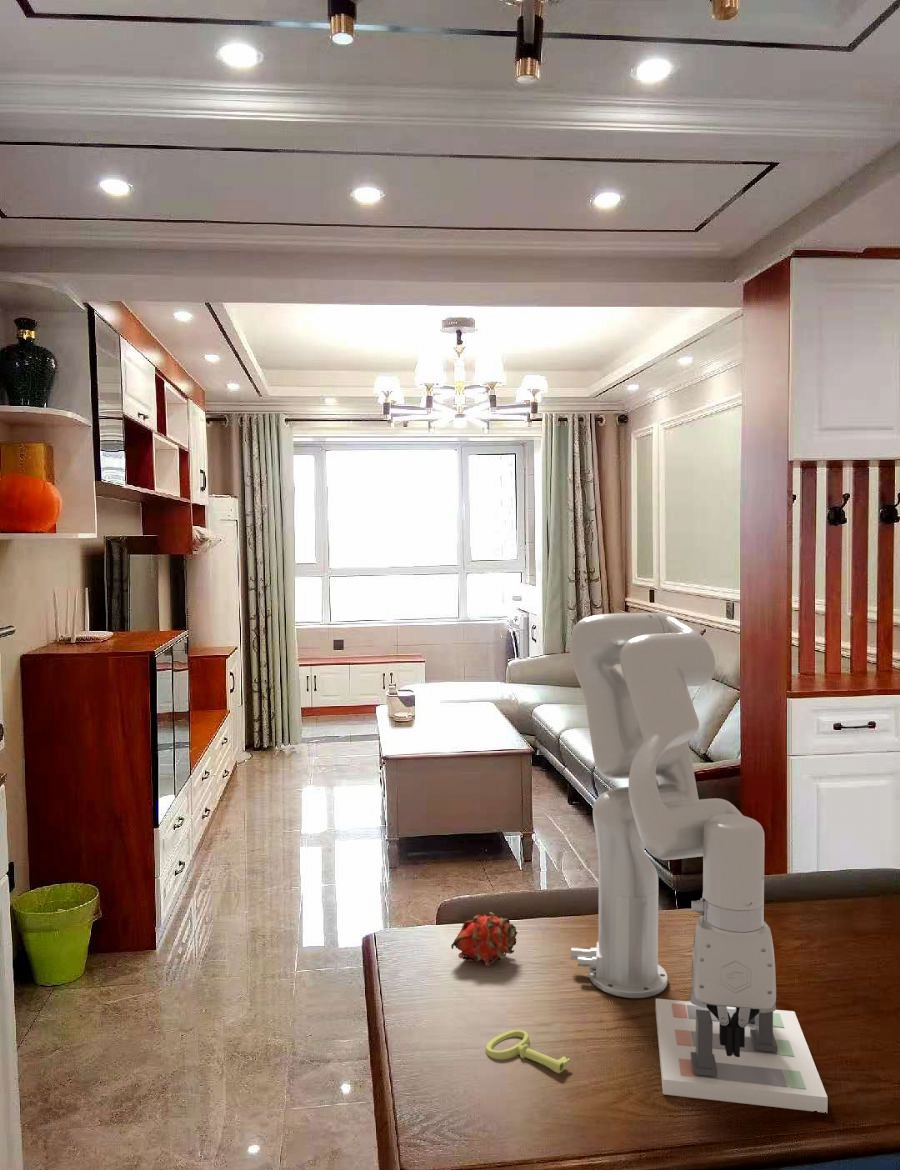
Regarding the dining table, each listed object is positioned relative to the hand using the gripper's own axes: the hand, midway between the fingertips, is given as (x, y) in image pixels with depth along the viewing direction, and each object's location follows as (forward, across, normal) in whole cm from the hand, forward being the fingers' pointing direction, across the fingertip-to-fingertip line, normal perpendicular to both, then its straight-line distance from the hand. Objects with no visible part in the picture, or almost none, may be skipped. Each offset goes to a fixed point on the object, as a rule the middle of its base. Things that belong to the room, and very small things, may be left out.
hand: (731, 1050), depth 112 cm
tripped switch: (+3, -4, 0) cm, 4 cm away
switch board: (+5, +1, +7) cm, 9 cm away
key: (+6, -27, +2) cm, 28 cm away
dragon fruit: (+5, -37, +28) cm, 47 cm away
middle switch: (+3, +5, +7) cm, 9 cm away
